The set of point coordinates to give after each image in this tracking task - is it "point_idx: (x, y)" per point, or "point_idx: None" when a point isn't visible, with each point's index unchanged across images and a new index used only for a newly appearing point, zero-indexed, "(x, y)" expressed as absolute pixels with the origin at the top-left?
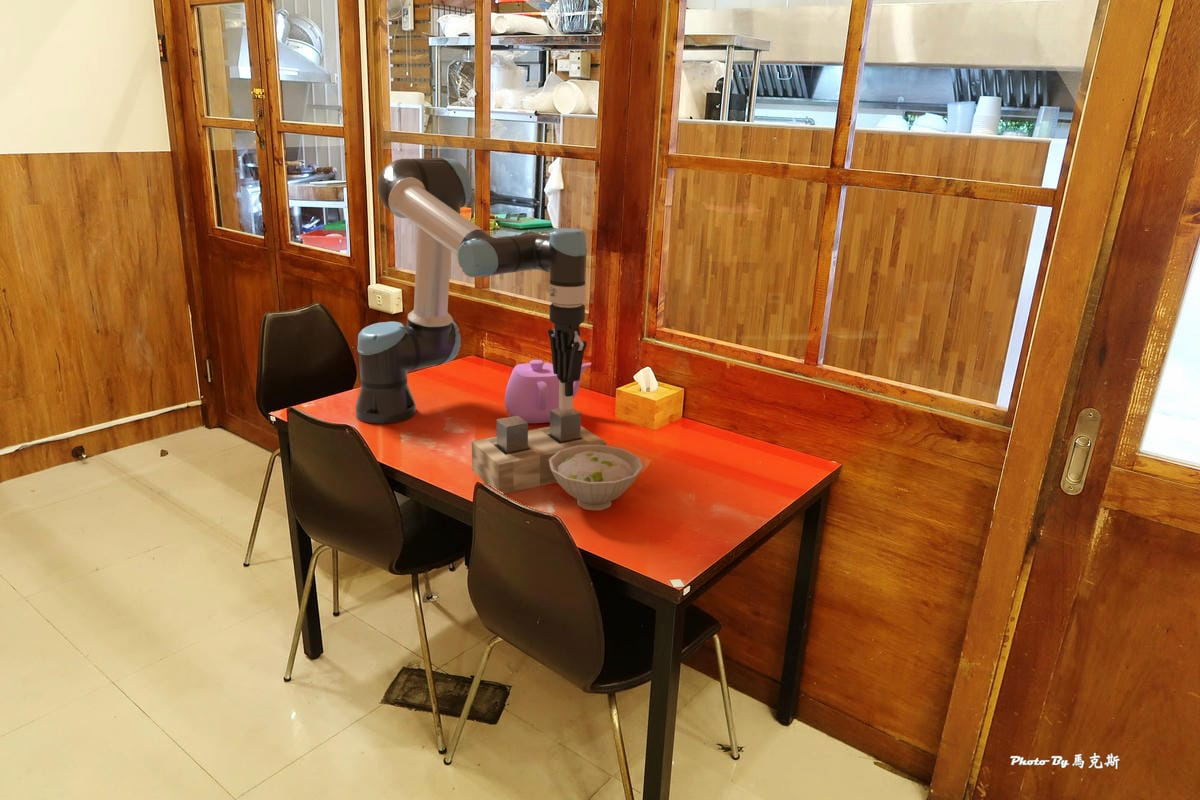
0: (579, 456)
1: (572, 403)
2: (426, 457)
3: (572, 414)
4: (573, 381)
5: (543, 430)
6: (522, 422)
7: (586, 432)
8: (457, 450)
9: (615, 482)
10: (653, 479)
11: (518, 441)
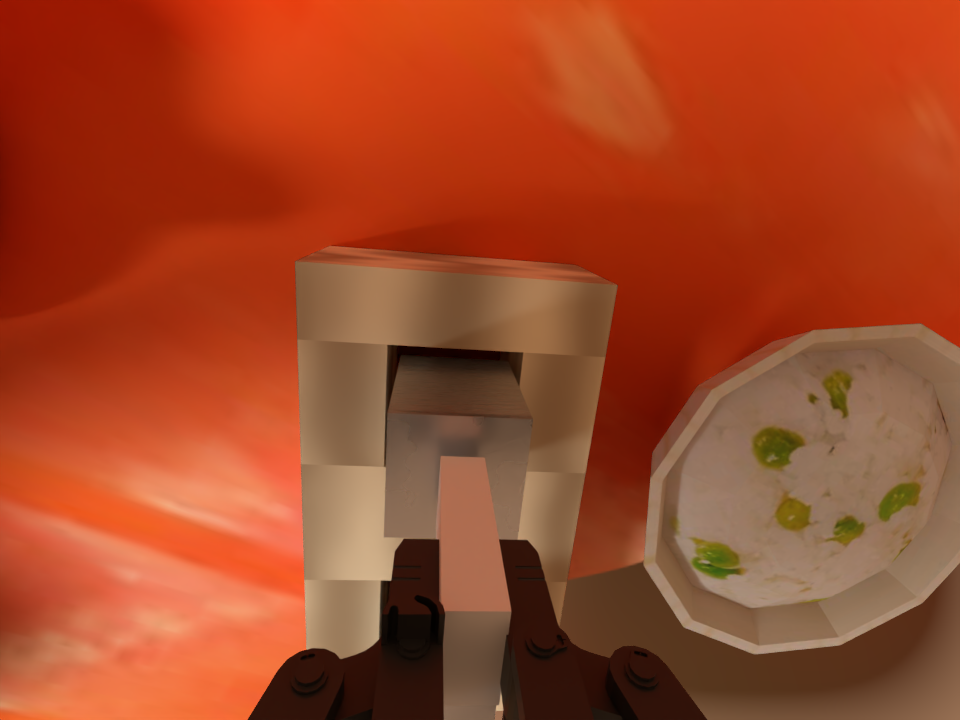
0: (771, 551)
1: (487, 479)
2: (173, 685)
3: (520, 470)
4: (581, 657)
5: (333, 455)
6: (477, 712)
7: (460, 294)
8: (152, 600)
9: None
10: (744, 145)
11: None
